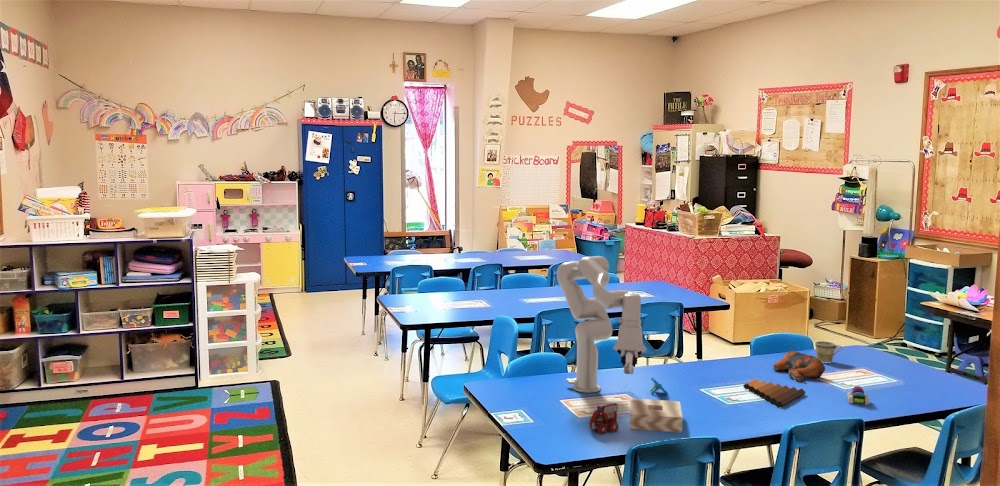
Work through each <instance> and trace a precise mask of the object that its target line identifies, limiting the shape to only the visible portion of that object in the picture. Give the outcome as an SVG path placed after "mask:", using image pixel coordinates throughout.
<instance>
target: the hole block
mask: <svg viewBox="0 0 1000 486" xmlns="http://www.w3.org/2000/svg"><path fill="white" fill-rule="evenodd" d="M629 404H630V407H629V409H630V410H629V429H630V430H639V431H643V430H644V431H655V432H668V433H683V412H682V411H683V410H682V405H681V402H680V401H678V400H677V401H676V400H661V399H649V398H647V399H646V398H634V397H630V403H629Z"/></svg>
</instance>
